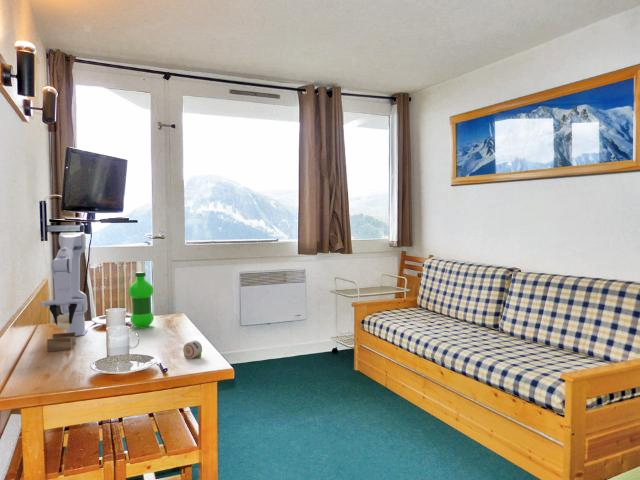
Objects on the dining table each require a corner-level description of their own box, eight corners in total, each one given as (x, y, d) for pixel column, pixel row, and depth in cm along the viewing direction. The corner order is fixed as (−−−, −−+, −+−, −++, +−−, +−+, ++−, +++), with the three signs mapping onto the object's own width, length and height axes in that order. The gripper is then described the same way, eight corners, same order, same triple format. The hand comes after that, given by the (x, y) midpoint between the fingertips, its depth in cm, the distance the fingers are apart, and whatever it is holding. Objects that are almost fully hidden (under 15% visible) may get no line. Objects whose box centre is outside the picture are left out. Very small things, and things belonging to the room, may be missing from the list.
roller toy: (195, 360, 170) (195, 343, 170) (181, 358, 173) (180, 342, 172) (203, 357, 174) (203, 340, 174) (189, 355, 177) (188, 339, 176)
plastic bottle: (130, 325, 228) (128, 271, 227) (154, 323, 232) (152, 270, 230) (129, 330, 219) (127, 274, 218) (154, 328, 222) (152, 272, 221)
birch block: (59, 327, 193) (59, 314, 193) (71, 326, 194) (70, 314, 194) (57, 329, 189) (56, 316, 189) (69, 328, 191) (68, 316, 190)
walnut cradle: (53, 345, 195) (53, 333, 195) (75, 343, 197) (75, 332, 197) (47, 351, 185) (46, 339, 185) (70, 349, 188) (70, 337, 188)
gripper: (39, 291, 185) (40, 327, 186) (81, 289, 190) (82, 324, 190) (43, 289, 192) (45, 323, 193) (84, 286, 196) (85, 320, 197)
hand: (64, 323), depth 192 cm, fingers closed on birch block, 4 cm apart
